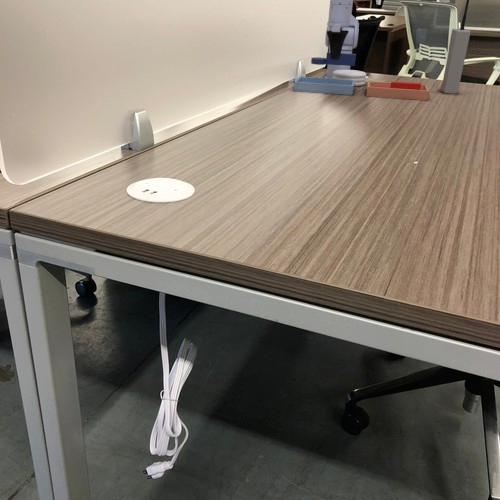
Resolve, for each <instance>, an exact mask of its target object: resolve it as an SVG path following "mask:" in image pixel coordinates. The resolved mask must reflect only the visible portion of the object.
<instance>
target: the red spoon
mask: <svg viewBox="0 0 500 500" xmlns="http://www.w3.org/2000/svg"><path fill="white" fill-rule="evenodd" d="M390 83H391V86H390V87H388V86H375V87H381V88H395V89H410V90H420V89H421V85H422V83H421V82H409V81H393V80H391V81H390Z"/></svg>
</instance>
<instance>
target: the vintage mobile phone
mask: <svg viewBox="0 0 500 500" xmlns="http://www.w3.org/2000/svg"><path fill="white" fill-rule="evenodd" d="M469 2H470V0H466V1H465V6H464V7H465V8H464V12H463V14H462V15H463V16H462V20H461V24H460V27H459V28H452V29H451V34H450V40H449V45H448V51H447V52H448V53H447V58H446V63H445V67H444V73H443V79H442V81H441V84H440V88H439V89H440V91H441V93H443V94H450V95H457V94H458V93H459V89H460V83H461V79H462V74H463V70H464V65H465V59H466V56H467V52H468V51H467V50H468V46H469V42H470V36H471V30H470V29H465V24H466V20H467V13H468V8H469Z"/></svg>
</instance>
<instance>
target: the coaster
mask: <svg viewBox="0 0 500 500" xmlns="http://www.w3.org/2000/svg"><path fill="white" fill-rule="evenodd" d="M366 76H367V72H365V71H361V70H355V69H350V70H336V71H334V72H333V79H344V80H355V85H354V87H363V86H364V85H365V84H366V80H367V78H366Z"/></svg>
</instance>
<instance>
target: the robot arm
mask: <svg viewBox="0 0 500 500" xmlns="http://www.w3.org/2000/svg"><path fill="white" fill-rule="evenodd" d="M353 3H354V0H329V8H328V9H329V10H328V19H327V23H326V25H327V26H326V31H325V38H324V39H325V40H324V45H325V46H326V48H328V53H330V55H331V59H339V57H340V53H346V54H353V50H354V49H356V48H357V46H358V40H359V31H360V29H359V27H360V23H359V20H358V19H357V18H356V17H355V16H353V14H352V12H353ZM326 67H327V68H326V75H325V76H324V77H323V78H329V79H333V72H334V71H336V70H351V66H345V65H328V64H327V66H326Z"/></svg>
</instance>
